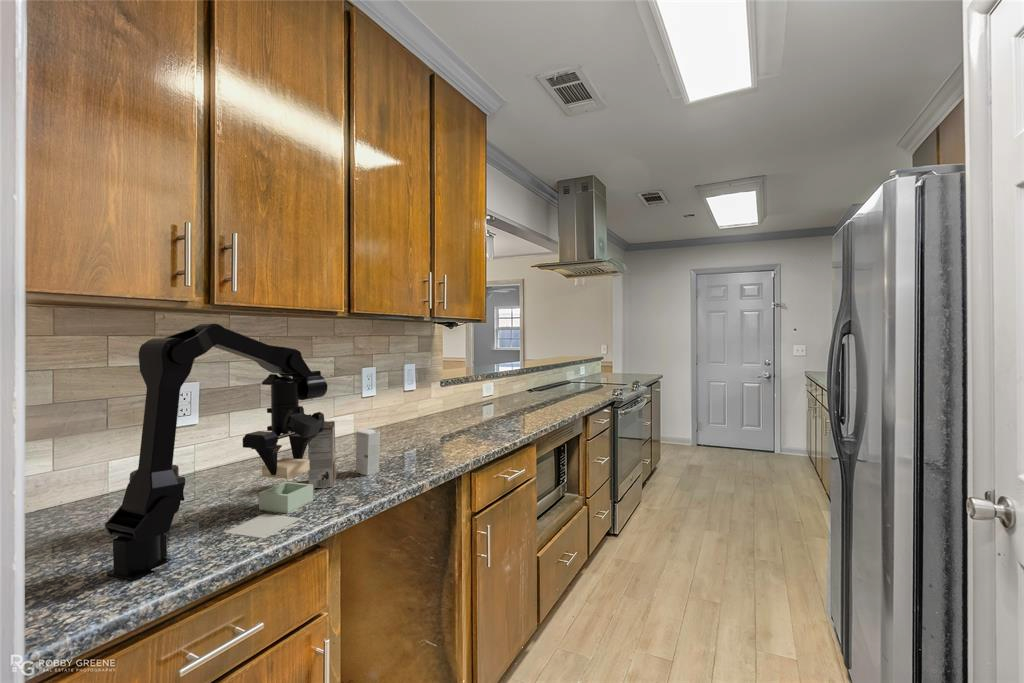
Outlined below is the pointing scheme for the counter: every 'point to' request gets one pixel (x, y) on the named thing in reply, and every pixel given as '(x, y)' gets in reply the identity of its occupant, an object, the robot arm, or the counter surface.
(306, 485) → the sage green tray
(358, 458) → the skincare box
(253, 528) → the mat
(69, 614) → the counter surface
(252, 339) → the robot arm
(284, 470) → the lid
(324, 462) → the coffee box
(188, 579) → the counter surface
